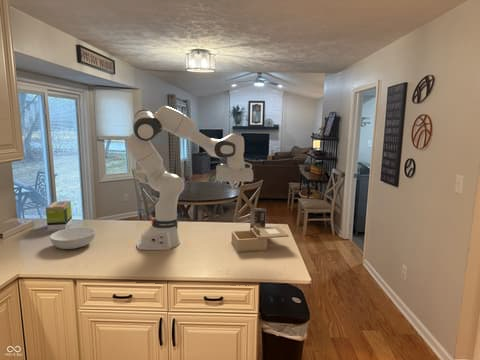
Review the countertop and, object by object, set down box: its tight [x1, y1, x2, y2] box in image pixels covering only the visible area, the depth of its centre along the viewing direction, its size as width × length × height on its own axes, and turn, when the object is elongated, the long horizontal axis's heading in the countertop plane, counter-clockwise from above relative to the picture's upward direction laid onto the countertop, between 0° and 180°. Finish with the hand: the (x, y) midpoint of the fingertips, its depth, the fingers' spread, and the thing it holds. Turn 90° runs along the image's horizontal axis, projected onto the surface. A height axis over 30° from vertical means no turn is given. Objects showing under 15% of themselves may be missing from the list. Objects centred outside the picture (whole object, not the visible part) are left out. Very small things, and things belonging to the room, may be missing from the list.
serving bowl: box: [49, 226, 96, 250], centre depth 163 cm, size 21×21×7 cm
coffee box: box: [249, 207, 267, 229], centre depth 186 cm, size 9×6×16 cm
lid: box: [249, 226, 290, 239], centre depth 170 cm, size 17×15×3 cm
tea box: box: [45, 200, 73, 232], centre depth 191 cm, size 15×10×15 cm, turn 14°
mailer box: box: [231, 229, 269, 254], centre depth 168 cm, size 16×14×7 cm
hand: (234, 189), depth 171 cm, fingers closed
